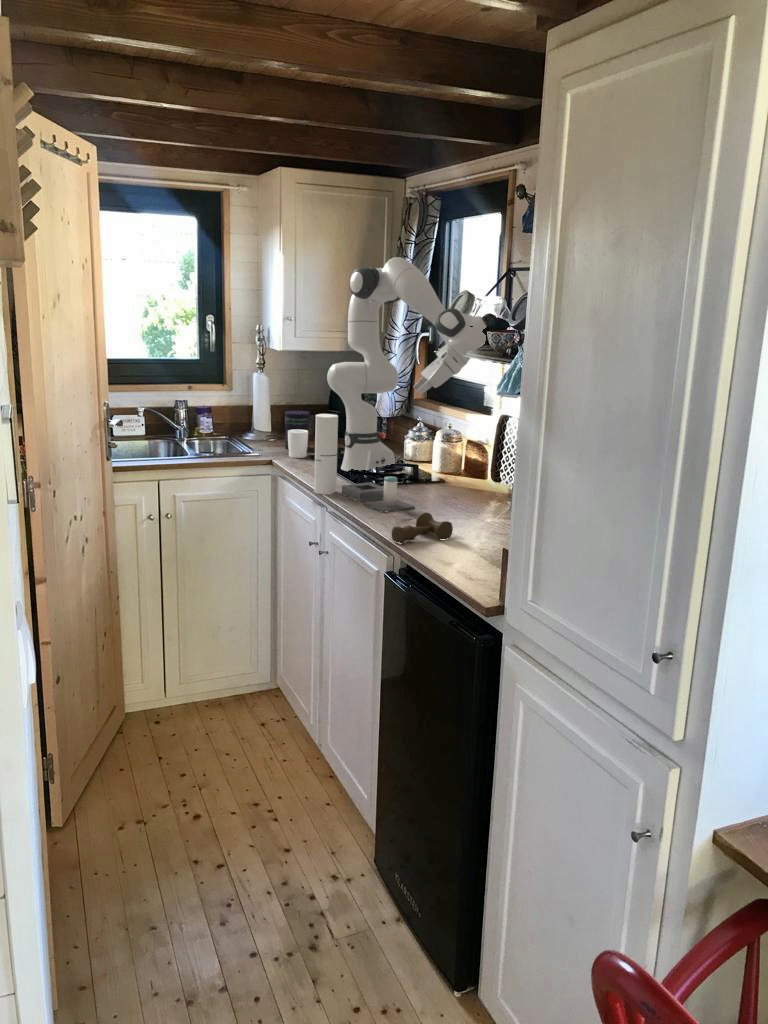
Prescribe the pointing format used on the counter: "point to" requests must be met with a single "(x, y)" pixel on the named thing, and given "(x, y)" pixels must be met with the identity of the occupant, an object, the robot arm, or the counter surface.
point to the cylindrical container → (326, 453)
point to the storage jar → (296, 423)
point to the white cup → (297, 443)
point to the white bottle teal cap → (390, 491)
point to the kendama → (422, 529)
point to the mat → (399, 506)
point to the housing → (363, 491)
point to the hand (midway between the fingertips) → (416, 391)
